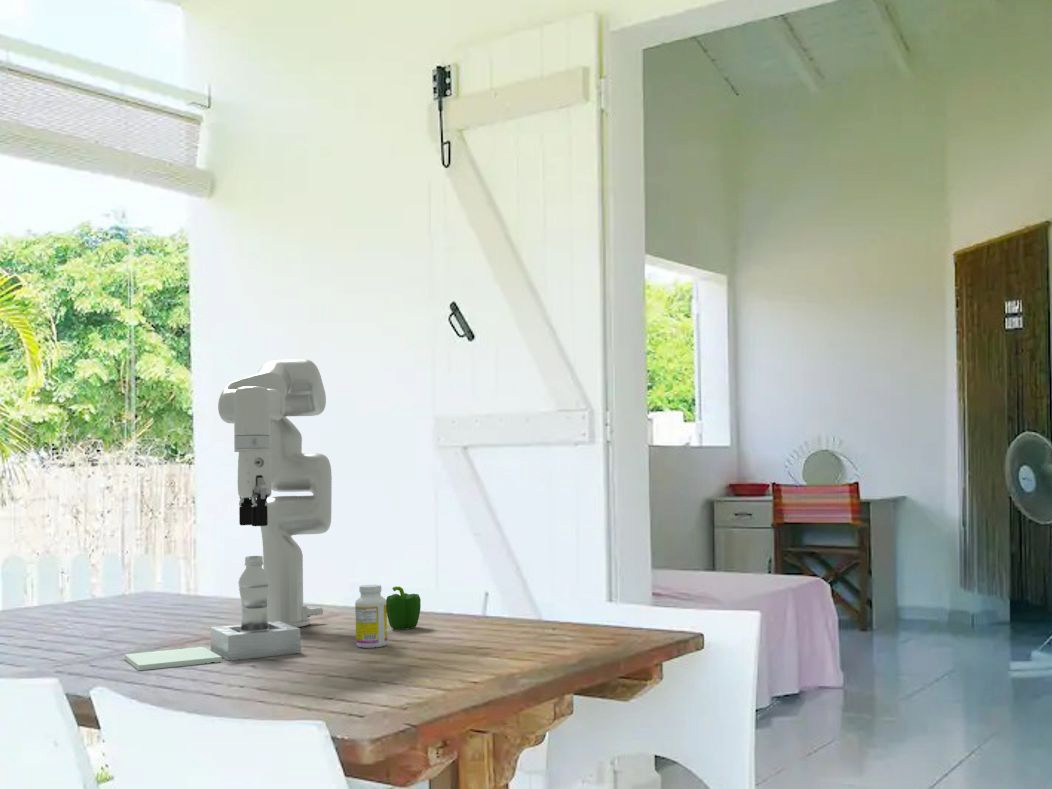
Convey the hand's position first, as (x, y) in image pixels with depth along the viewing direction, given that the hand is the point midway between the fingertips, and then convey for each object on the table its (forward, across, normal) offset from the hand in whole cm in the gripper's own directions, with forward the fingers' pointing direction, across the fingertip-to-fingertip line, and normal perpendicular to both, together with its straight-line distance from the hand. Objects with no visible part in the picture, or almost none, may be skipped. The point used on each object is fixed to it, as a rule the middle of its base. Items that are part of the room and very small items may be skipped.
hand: (253, 525), depth 242 cm
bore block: (+26, +1, 0) cm, 27 cm away
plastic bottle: (+27, +1, 0) cm, 27 cm away
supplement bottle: (+27, -7, -23) cm, 36 cm away
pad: (+27, +1, +17) cm, 31 cm away
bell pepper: (+26, +14, -39) cm, 49 cm away
